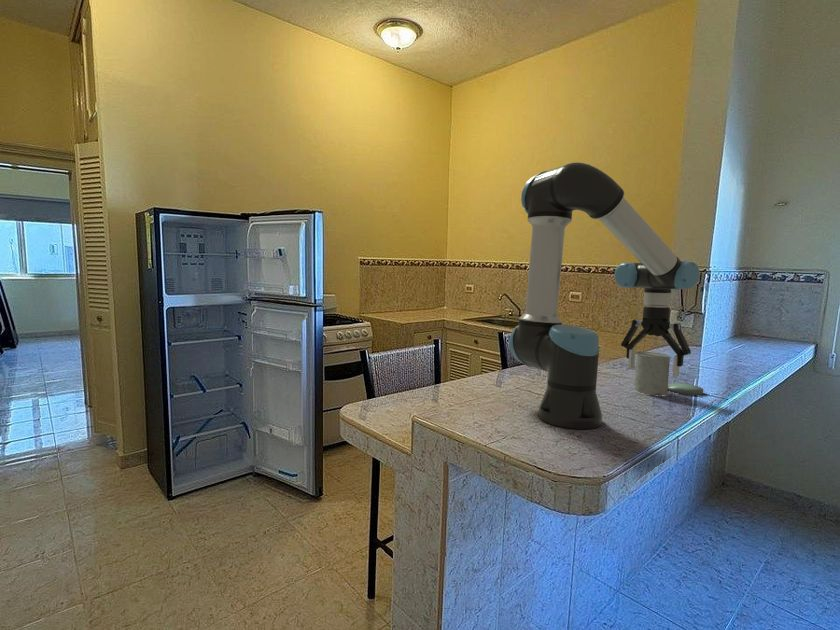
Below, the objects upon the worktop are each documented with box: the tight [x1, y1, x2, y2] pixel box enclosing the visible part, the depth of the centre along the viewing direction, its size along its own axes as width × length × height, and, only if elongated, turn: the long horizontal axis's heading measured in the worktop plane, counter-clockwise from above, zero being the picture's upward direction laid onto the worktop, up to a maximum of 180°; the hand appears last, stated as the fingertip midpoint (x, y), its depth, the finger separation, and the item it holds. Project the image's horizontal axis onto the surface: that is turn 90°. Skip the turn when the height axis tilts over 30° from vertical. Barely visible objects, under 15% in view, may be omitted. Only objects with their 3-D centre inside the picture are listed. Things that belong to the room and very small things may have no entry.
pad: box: [667, 382, 704, 396], centre depth 142 cm, size 11×11×2 cm
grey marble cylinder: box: [634, 351, 671, 397], centre depth 139 cm, size 10×10×12 cm
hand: (652, 372), depth 140 cm, fingers open, 13 cm apart
